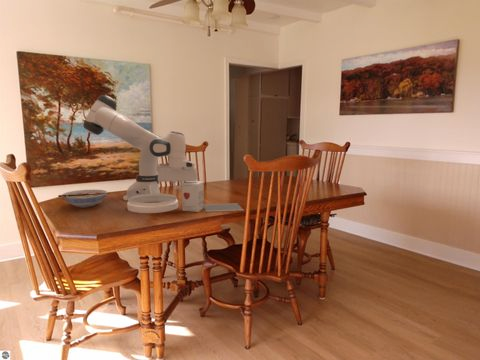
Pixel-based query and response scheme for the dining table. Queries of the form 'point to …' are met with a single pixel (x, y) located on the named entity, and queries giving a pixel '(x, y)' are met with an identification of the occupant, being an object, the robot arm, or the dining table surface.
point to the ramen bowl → (84, 197)
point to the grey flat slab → (222, 207)
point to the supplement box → (192, 196)
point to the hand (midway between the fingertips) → (177, 189)
